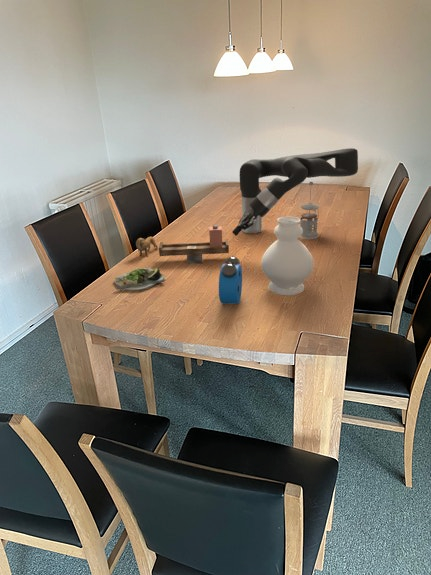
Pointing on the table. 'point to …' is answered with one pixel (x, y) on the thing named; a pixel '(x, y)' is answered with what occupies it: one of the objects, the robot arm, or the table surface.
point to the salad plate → (139, 279)
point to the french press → (309, 220)
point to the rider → (215, 236)
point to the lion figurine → (145, 245)
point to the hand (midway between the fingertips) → (233, 233)
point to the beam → (192, 250)
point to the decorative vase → (287, 259)
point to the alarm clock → (230, 281)
